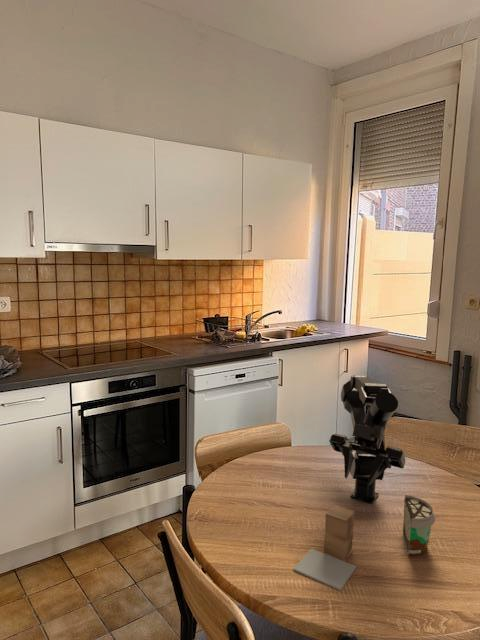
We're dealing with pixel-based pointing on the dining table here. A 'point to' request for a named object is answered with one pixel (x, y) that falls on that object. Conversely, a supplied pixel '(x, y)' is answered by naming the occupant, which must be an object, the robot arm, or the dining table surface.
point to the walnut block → (339, 532)
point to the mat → (325, 569)
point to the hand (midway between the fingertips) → (357, 480)
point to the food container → (417, 525)
